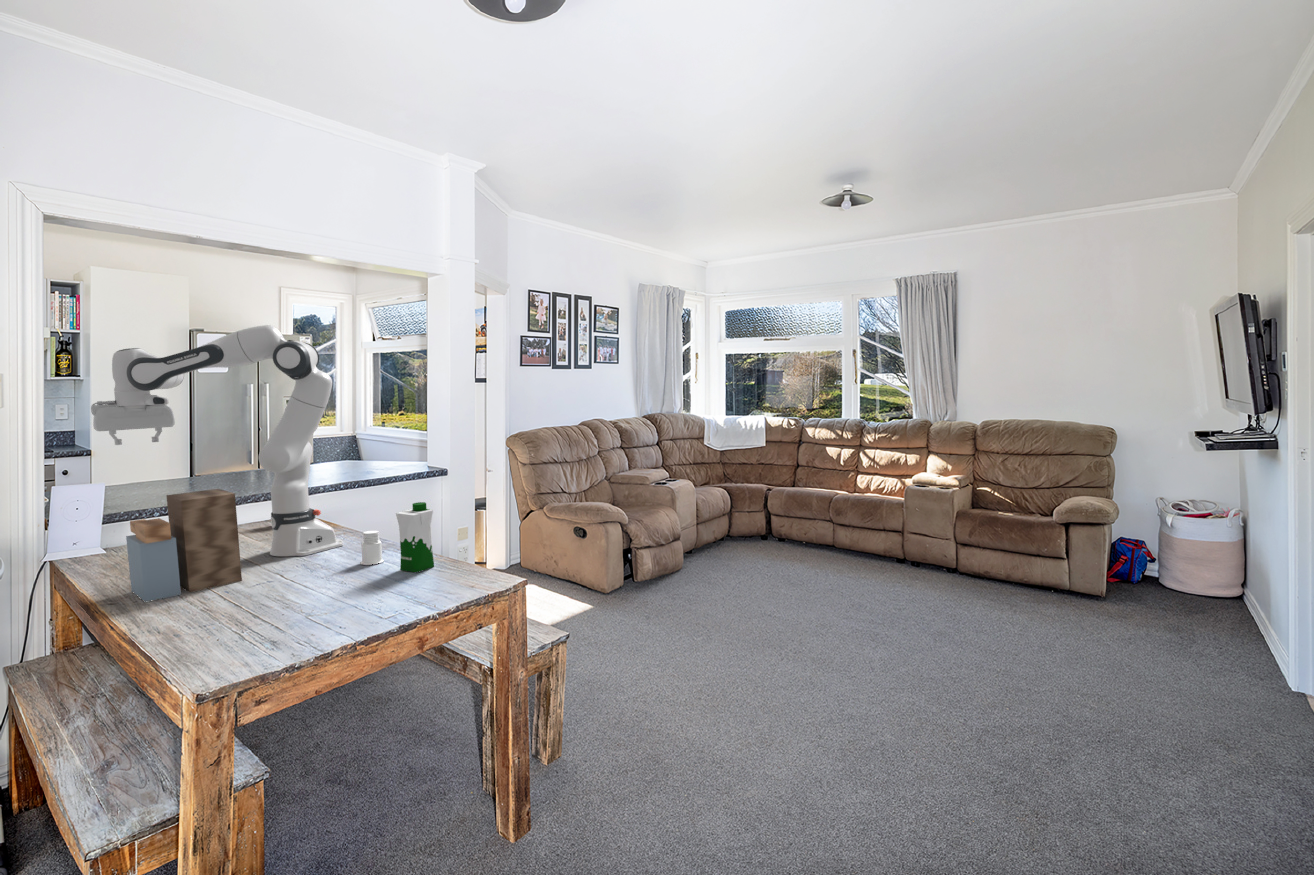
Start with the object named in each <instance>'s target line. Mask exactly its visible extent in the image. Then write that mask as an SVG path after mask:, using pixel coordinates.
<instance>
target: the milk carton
mask: <svg viewBox="0 0 1314 875" xmlns="http://www.w3.org/2000/svg"><path fill="white" fill-rule="evenodd" d="M433 511H434V510H433V509H430V508H429V509H428V508H427V502H424V501H423V502H421V501H419V502H418V501H417V502H414V503H412V508H410V509H406V510H405V509H404V510H402V511H400V512H396V513H395V515H396V519H397V522H398V528H399V529H398V530H399V545H400V546H399V548H400V569H399V570H400V571H403V572H408V571H410V573H414V572H418V573H420V572H419V571H421V572H423V571H422V570H424V571H426V570H429V569H431V568H434V567H435V561H434V554H433V537H432V520H433V513H434V512H433ZM428 568H429V569H428ZM425 569H426V570H425Z"/></svg>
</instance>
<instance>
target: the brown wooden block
mask: <svg viewBox="0 0 1314 875" xmlns="http://www.w3.org/2000/svg"><path fill="white" fill-rule="evenodd" d="M129 527H130V532H131V533H133V535H136V538H137V539H139V540H140V541H142V542H144V543H146V544H147V543H153V542H158V541H164V540H170V539H171V530H170V523H169V521H167V520H164V519H162V518H160V517H159V518H152V519H146V518H142V519H136V520H129Z"/></svg>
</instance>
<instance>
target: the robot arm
mask: <svg viewBox="0 0 1314 875" xmlns="http://www.w3.org/2000/svg"><path fill="white" fill-rule="evenodd" d="M271 359H272V361H273V363H274V366H275V367H276V368H277V369H278V370H279V371H281V372H282V373H283V374H285V375H286V376H287V377H289V378H290V379H292V380H295V384H294V388H293V390H292V392H291V394H290V397H289V400H288V402H287V404H286V406H285V409H284V412H283V414H282V416H281V418H280V420H279V422H278V423H277V425H276V426H275V428H274V430H273V431H272V433H271V435H270V436H269V438H268V439H267V441H266V443H265V444H264V446H263V447H262V448H261V449H260V450H259V454H258V462H259V465H260V466H261V468H262V469H264V470H265V471H267V472H269V473H273V474H274V477H273V482H272V485H271V487H270V497H271V498H270V501H271V509H272V510H271V513H270V524H271V525H270V526H271V528H272V538H271V539H272V541H271V545H270V546H271V548H270V551H269V555H270V556H273V557H292V556H293V557H294V556H295V557H296V556H299V557H301V556H302V557H303V556H310V555H311V554H316V553H319V552H325V551H327V550H331V549H335V548H338V547H342V546H344V541H343V540H342V539H340V538H337V536H336V532H335V530H334V528H333V526H330V525H328V524H327V523H326V522H323V521H322V520H320V519H318V518H316V517H318V516H320V515H321V514H322V511H321V510H320V509H316V508H315V509H314V508H310V500H309V499H310V497H309V479H310V471H311V459H312V456H313V454H314V453H313V452H314V450H313V449H314V448H313V446H312V444H311V442H310V440H311V438H312V436H313V435H314V433H315V432H316V431H317V430H318V427H319V425H320V423H321V420H322V418H323V415H324V413H325V411H326V408H327V405H328V402H329V400H330V397H331V392H332V389H333V387H332V386H333V379H332V377H331V376H330V375H329V374H328V373H327V372H325V371H323V370H320V369H319V368H318V365H319V362H320V354H319V352H318V351H317V349H316V348H315V346H314V345H311V344H310V343H307V342H304V341H300V340H293V339H288V340H287V339H285V337H284V336H283V334H282V332H281V331H280V330H279V329H278V328H277V327H275V326H274V325H271V324H265V325H257V326H256V325H255V326H252V327H247V328H243V329H240V330H236V331H233V332H231V333H229V334H226V335H224V336H221V337H219V338H217V339H215V340H212V341H210V342H207V343H206V344H202V345H200V346H198V347H195V348H192V349H188V350H185V351H182V352H177V353H174V354H172V355H167V356H164V357H160V356H157V355H154V354H152V353H149V352H148V351H146V350H144V349H143V348H139V347H133V348H132V347H131V348H123V349H119V350H117V351H115V352H114V353H113V355H112V360H111V361H112V362H111V370H112V371H111V372H112V379H113V381H114V387H113V392H114V400H107V401H102V400H99V401H96V402H94V403H92V404H91V406H90V410H91V414H92V415H93V423H92V425H93V429H94V430H95V431H96V432H108V434H109V435H110V437H111V438H112V439H113V440H114V445H115V446H121V445H123V440H122V438H118V437H117V436H116V434H117V431H126V430H127V431H129V430H142V429H154V431H155V432H156V433H155V435H154V436H151V442H152V443H159V442H160V440H159V439H160V438H159V437H160V436H161V434H162V432H163V429H164V428H173V427H174V425H175V423H176V420H175V419H176V418H175V415H174V412H173V409H172V407H171V406H169V403H170V401H169V398H167V397H163V396H159V395H157V394H151V391H153V390H154V391H155V390H168V389H172V388H176V387H178V386H180V385H181V384H182V383H183V381H184V379H185V378H184V377H185V374H187V373H191V372H194V371H197V370H203V369H207V368H208V369H211V368H225V369H226V368H228V369H229V368H230V369H231V368H239V367H244V366H248V365H252V364H255V363H258V362H262V361H264V360H271Z"/></svg>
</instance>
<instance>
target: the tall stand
mask: <svg viewBox="0 0 1314 875" xmlns="http://www.w3.org/2000/svg"><path fill="white" fill-rule="evenodd" d="M166 504H167V515H168V522H169V523H170V530H171V536H173V537H175V538H176V546H177V557H178V568H179V579H180V588H182V589H183V590H185V591H186V592H188V593H194V592H198V591H203V590H206V589H211V588H212V589H213V588H215V587H220V586H221V587H222V586H225V585H229V584H233V583H239V582H241V581H242V582H243V576H242V565H241V564H242V563H241V551H240V541H239V540H240V539H239V527H238V516H237V503H236V494H235V493H234V492H232V491H231V492H230V491H227V490H224V489H220V488H212V489H207V490H205V489H204V490H197V491H189V492H182V493H174V494H166Z"/></svg>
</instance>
